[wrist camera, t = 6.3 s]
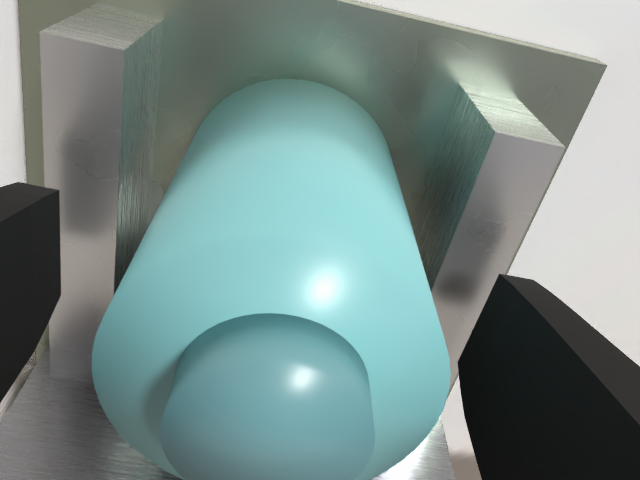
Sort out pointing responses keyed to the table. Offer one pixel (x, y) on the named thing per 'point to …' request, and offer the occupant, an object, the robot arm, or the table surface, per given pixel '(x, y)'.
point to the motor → (186, 117)
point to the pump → (276, 302)
